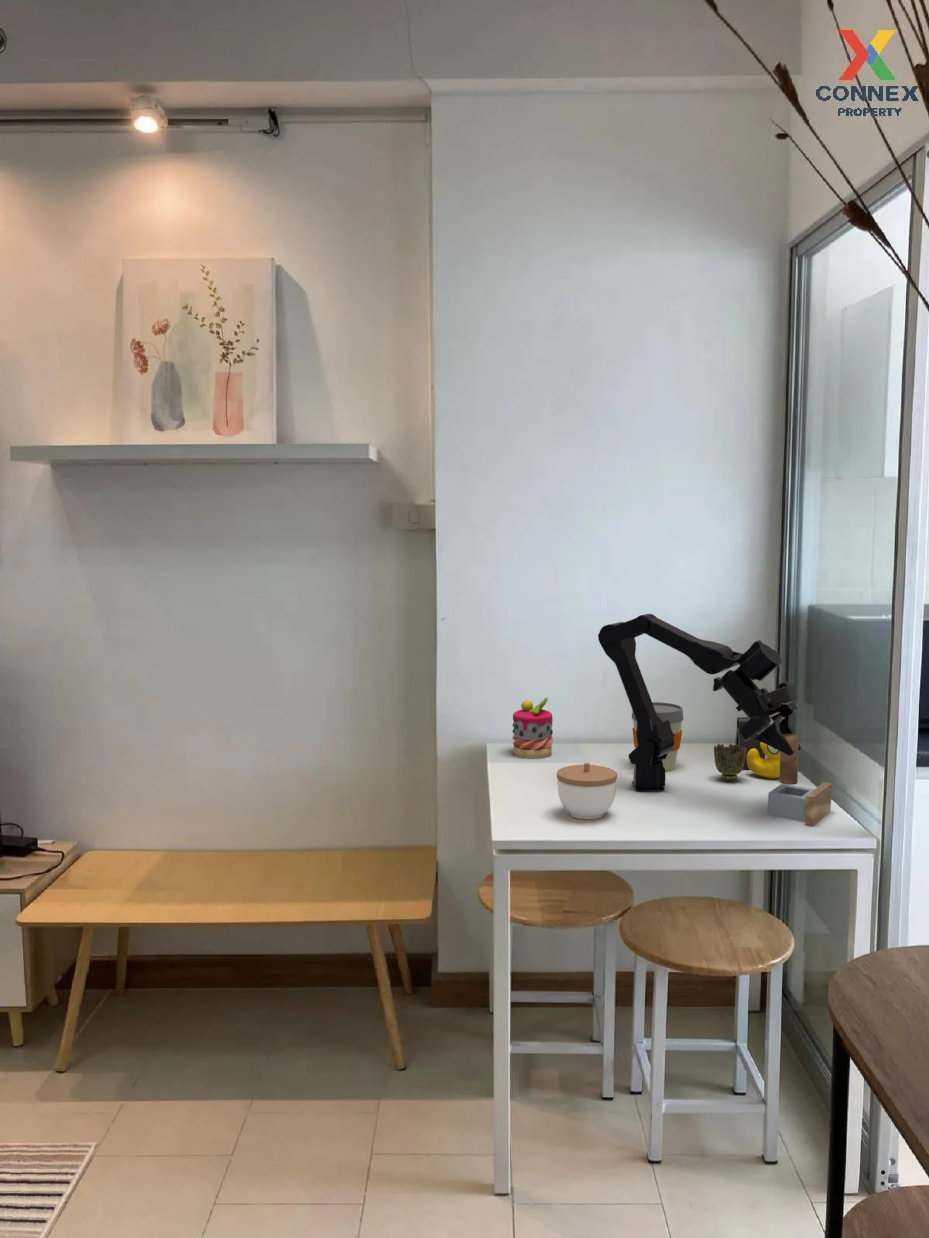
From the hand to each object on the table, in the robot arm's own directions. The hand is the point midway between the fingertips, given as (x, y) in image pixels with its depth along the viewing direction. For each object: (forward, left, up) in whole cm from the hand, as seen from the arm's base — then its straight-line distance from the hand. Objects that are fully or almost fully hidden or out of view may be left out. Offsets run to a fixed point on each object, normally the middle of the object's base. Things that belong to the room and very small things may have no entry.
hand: (795, 752), depth 214 cm
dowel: (-1, +1, -7) cm, 7 cm away
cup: (-7, +27, -14) cm, 31 cm away
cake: (-52, +52, -14) cm, 75 cm away
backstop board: (+5, -2, -13) cm, 14 cm away
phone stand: (+1, +40, -14) cm, 42 cm away
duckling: (+3, +29, -14) cm, 32 cm away
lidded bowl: (-43, +2, -14) cm, 45 cm away
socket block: (0, +1, -14) cm, 14 cm away
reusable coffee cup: (-22, +39, -14) cm, 47 cm away
